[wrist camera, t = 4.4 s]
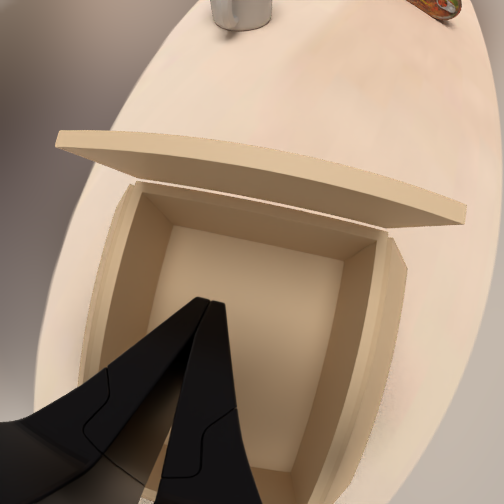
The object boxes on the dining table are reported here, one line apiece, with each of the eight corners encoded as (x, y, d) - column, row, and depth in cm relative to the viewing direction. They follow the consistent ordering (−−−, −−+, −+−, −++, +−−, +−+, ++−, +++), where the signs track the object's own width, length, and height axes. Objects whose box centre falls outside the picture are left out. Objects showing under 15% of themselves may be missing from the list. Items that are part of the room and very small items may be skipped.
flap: (388, 217, 14) (386, 228, 14) (140, 167, 15) (138, 178, 15) (467, 204, 7) (464, 224, 7) (59, 130, 8) (54, 146, 8)
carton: (328, 512, 17) (346, 561, 10) (82, 449, 18) (37, 478, 11) (399, 267, 21) (451, 248, 14) (125, 209, 22) (80, 172, 15)
